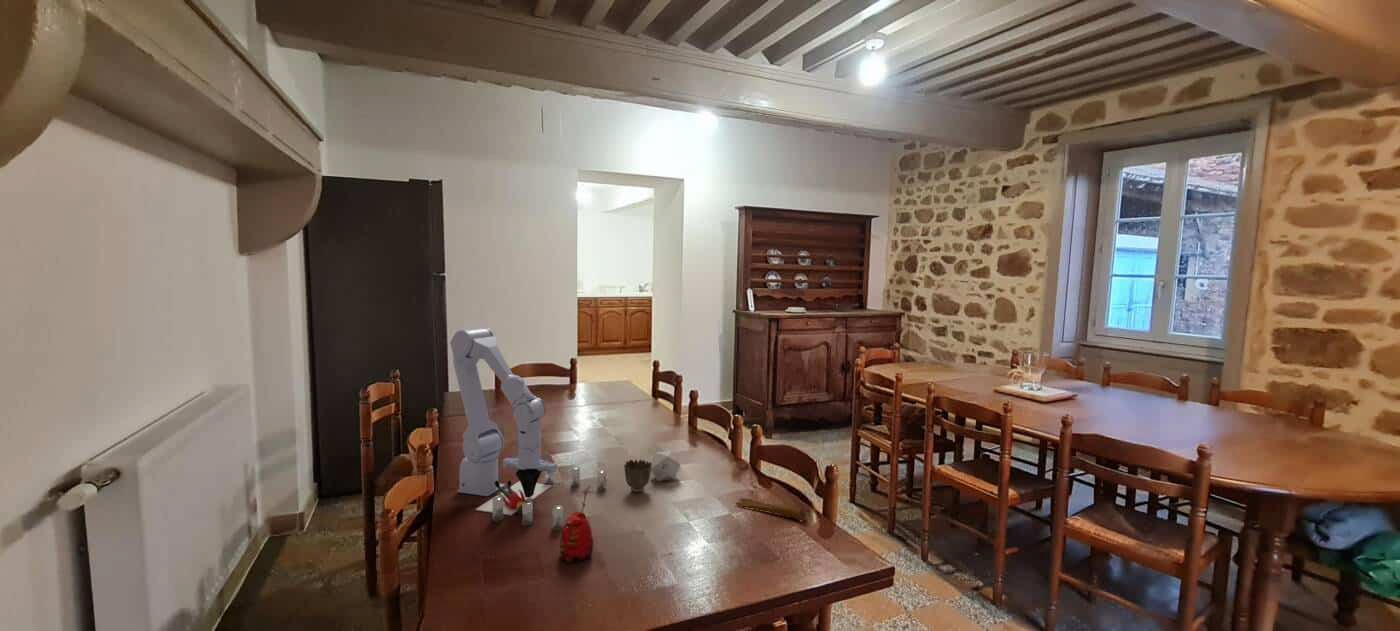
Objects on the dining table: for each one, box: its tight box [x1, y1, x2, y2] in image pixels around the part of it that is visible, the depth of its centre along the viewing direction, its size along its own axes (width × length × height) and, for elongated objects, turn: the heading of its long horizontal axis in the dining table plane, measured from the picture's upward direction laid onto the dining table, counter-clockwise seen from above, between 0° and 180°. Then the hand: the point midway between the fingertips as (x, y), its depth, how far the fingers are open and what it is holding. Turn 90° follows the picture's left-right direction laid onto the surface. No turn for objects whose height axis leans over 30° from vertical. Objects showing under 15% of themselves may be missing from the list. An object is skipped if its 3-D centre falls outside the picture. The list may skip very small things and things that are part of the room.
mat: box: [475, 480, 552, 517], centre depth 152 cm, size 10×20×1 cm, turn 166°
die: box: [650, 450, 681, 482], centre depth 169 cm, size 8×9×10 cm
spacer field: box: [492, 466, 607, 531], centre depth 149 cm, size 18×27×5 cm
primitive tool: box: [735, 497, 806, 522], centre depth 149 cm, size 19×6×4 cm, turn 60°
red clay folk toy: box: [559, 485, 594, 564], centre depth 122 cm, size 8×7×15 cm
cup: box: [623, 459, 652, 494], centre depth 158 cm, size 8×7×8 cm
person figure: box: [495, 479, 525, 515], centre depth 148 cm, size 5×4×18 cm
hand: (529, 495), depth 151 cm, fingers closed
